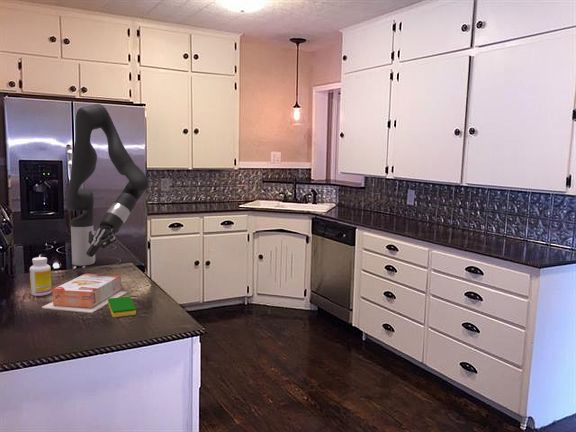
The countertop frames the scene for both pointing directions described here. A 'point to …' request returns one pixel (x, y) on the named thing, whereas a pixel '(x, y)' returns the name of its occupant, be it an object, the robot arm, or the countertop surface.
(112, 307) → the dish sponge
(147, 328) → the countertop surface
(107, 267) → the countertop surface
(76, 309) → the mat
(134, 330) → the countertop surface
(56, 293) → the cracker box
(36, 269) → the supplement bottle
